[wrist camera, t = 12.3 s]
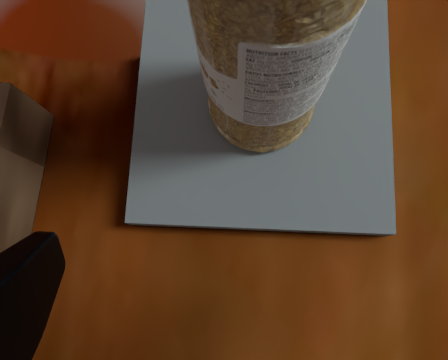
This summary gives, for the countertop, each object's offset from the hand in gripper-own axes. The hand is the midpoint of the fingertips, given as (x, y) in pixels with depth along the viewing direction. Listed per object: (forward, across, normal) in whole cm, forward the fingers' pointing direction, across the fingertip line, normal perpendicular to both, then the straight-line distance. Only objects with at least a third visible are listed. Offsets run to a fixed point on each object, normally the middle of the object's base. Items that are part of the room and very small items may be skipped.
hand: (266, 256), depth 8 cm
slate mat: (+11, 0, +1) cm, 11 cm away
